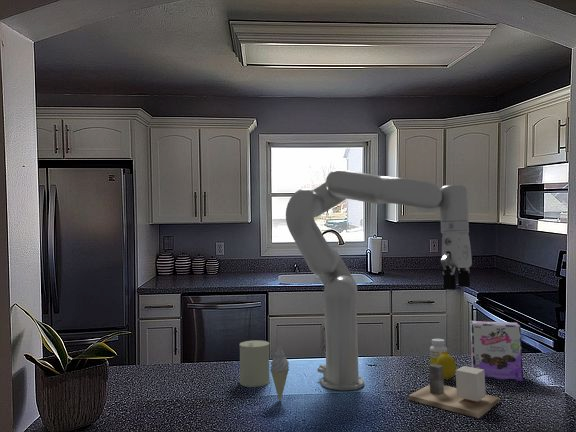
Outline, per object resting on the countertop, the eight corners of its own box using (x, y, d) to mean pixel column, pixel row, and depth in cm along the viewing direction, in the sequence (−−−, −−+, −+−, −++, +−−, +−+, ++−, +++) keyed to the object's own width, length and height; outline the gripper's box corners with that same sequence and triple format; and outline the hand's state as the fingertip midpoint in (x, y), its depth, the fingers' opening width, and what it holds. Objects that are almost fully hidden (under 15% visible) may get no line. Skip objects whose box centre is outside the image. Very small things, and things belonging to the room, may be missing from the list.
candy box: (473, 377, 131) (470, 323, 132) (471, 372, 137) (469, 320, 138) (524, 381, 127) (520, 325, 128) (520, 376, 132) (517, 321, 133)
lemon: (458, 383, 126) (457, 355, 127) (438, 382, 127) (437, 354, 128) (454, 377, 132) (453, 351, 132) (435, 376, 133) (434, 350, 133)
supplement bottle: (446, 368, 142) (445, 338, 142) (450, 373, 136) (448, 341, 137) (429, 368, 142) (428, 337, 143) (432, 372, 137) (431, 341, 138)
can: (234, 385, 127) (234, 344, 128) (246, 376, 136) (246, 338, 137) (263, 388, 124) (263, 346, 125) (274, 378, 133) (273, 339, 134)
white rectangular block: (456, 396, 109) (455, 370, 109) (465, 391, 112) (463, 365, 113) (477, 401, 105) (476, 374, 105) (485, 396, 109) (484, 369, 109)
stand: (408, 400, 113) (407, 368, 114) (433, 387, 123) (432, 357, 124) (478, 418, 100) (477, 382, 101) (499, 402, 110) (497, 369, 111)
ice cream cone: (273, 405, 111) (272, 345, 112) (268, 398, 116) (267, 341, 117) (291, 402, 112) (290, 344, 113) (286, 396, 117) (285, 340, 118)
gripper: (454, 226, 115) (457, 291, 113) (479, 228, 127) (482, 286, 126) (428, 228, 120) (430, 289, 119) (454, 229, 132) (457, 285, 131)
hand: (457, 288), depth 122 cm, fingers open, 9 cm apart
